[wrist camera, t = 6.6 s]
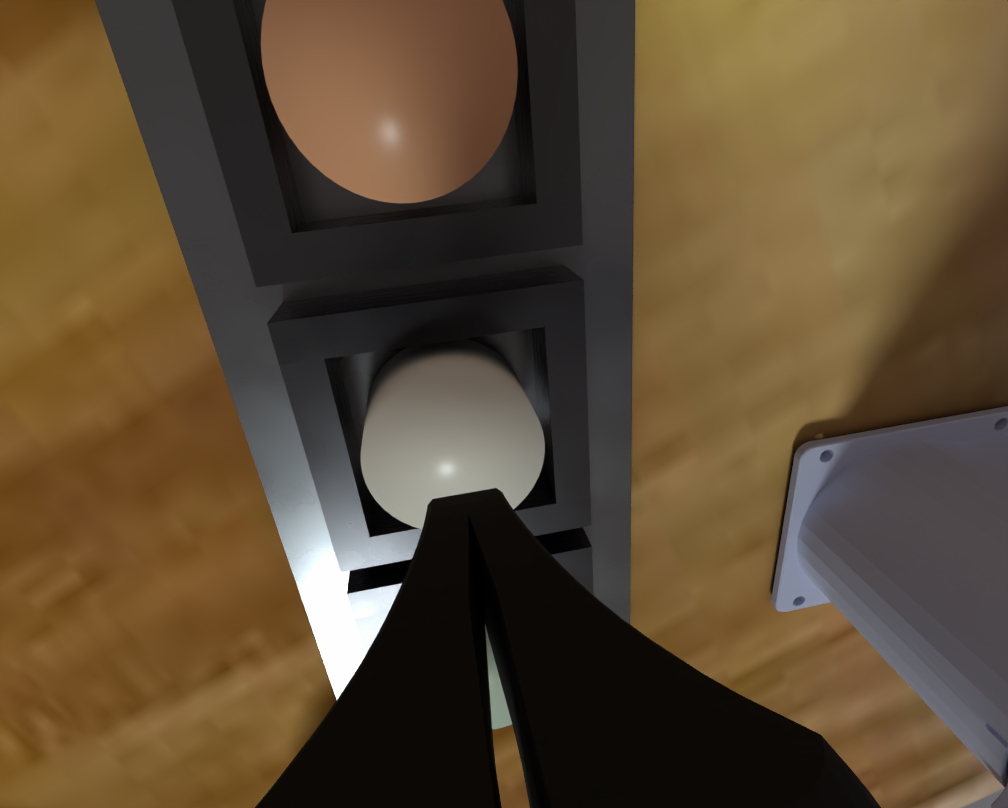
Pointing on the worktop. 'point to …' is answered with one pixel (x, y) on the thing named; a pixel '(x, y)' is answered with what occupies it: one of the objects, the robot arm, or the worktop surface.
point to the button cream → (448, 429)
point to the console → (404, 287)
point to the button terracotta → (392, 89)
